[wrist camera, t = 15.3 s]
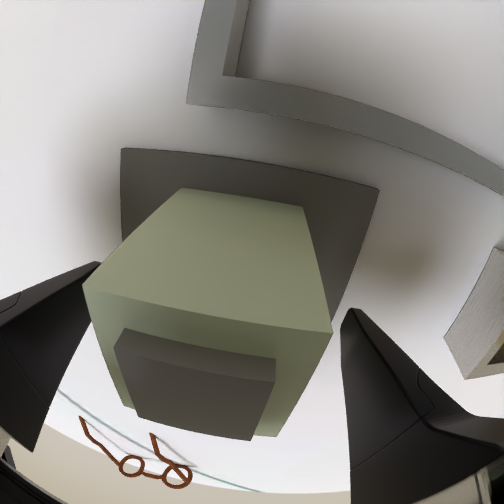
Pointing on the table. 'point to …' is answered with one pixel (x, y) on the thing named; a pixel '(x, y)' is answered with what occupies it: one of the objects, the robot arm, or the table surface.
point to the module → (212, 314)
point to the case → (310, 99)
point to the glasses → (157, 453)
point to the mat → (260, 187)
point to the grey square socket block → (481, 324)
